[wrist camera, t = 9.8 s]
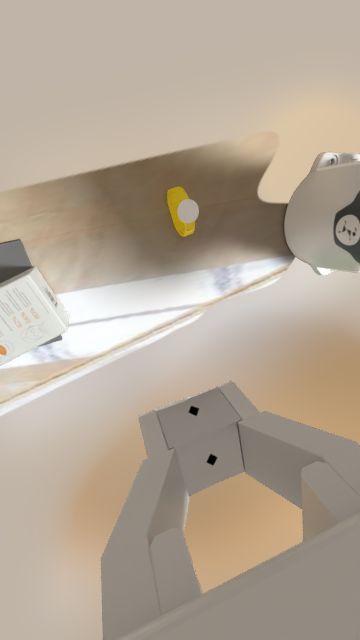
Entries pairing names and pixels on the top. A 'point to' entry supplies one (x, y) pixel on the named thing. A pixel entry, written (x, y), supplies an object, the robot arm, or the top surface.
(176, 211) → the watch
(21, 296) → the small box
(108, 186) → the top surface
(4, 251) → the mat
